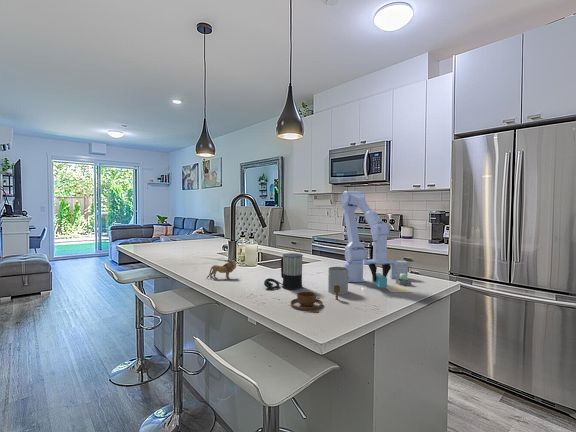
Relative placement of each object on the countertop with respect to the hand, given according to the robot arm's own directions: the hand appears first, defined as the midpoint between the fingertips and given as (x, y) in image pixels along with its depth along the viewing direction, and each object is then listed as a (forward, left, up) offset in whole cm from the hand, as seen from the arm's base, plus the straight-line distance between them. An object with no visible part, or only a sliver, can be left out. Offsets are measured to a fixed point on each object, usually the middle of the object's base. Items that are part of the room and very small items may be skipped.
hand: (379, 280), depth 143 cm
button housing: (+14, +9, -4) cm, 17 cm away
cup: (-19, -4, -4) cm, 20 cm away
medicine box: (+16, +21, -4) cm, 27 cm away
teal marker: (0, 0, -2) cm, 2 cm away
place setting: (-30, -22, -5) cm, 37 cm away
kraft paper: (+8, +1, -4) cm, 9 cm away
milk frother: (-42, +3, -4) cm, 43 cm away
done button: (+14, +9, -2) cm, 17 cm away
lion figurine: (-73, +21, -4) cm, 76 cm away
